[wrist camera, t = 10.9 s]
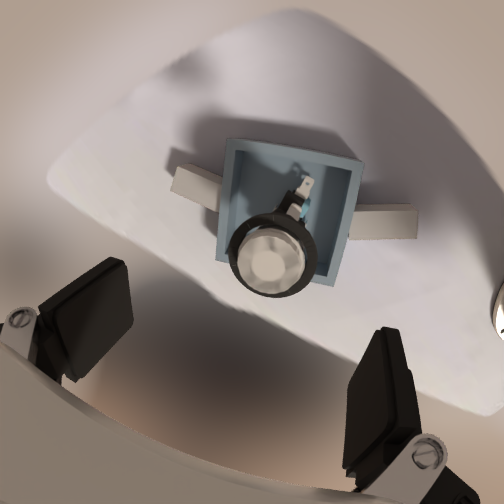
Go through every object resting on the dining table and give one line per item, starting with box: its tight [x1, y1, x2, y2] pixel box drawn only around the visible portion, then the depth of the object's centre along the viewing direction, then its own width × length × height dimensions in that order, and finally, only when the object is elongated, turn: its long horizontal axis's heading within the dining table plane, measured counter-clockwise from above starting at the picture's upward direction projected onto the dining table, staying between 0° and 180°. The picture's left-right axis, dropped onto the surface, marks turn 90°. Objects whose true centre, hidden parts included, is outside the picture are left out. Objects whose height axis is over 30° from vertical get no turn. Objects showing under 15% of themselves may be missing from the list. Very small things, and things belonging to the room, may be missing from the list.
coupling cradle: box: [170, 138, 418, 287], centre depth 23 cm, size 22×11×3 cm, turn 83°
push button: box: [228, 176, 318, 298], centre depth 20 cm, size 7×5×10 cm
